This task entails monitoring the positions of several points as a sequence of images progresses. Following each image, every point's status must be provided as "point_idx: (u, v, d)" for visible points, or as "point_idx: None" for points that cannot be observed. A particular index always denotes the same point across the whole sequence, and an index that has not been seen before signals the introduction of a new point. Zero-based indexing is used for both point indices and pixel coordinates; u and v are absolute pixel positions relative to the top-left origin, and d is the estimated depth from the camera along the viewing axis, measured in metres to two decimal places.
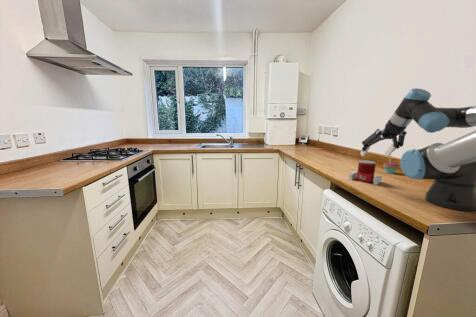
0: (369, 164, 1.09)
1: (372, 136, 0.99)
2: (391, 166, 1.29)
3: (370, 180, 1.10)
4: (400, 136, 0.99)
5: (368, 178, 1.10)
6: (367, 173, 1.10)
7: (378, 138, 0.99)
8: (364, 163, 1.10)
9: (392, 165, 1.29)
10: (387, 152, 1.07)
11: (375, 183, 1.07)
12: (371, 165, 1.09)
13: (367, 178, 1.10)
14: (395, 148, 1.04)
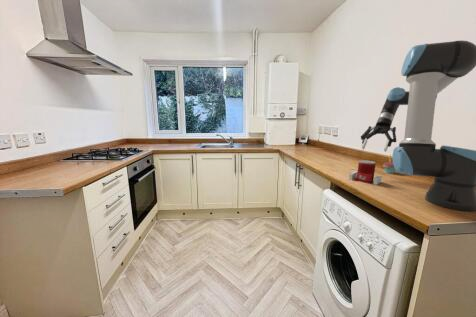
0: (369, 164, 1.09)
1: None
2: (391, 166, 1.29)
3: (370, 180, 1.10)
4: (392, 132, 1.17)
5: (368, 178, 1.10)
6: (367, 173, 1.10)
7: None
8: (364, 163, 1.10)
9: (392, 165, 1.29)
10: None
11: (375, 183, 1.07)
12: (371, 165, 1.09)
13: (367, 178, 1.10)
14: (390, 142, 1.14)
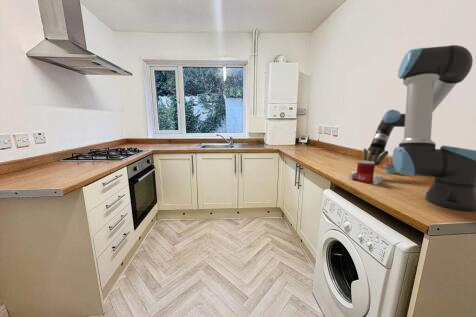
0: (368, 164, 1.08)
1: None
2: (391, 166, 1.29)
3: (369, 180, 1.10)
4: None
5: (367, 178, 1.09)
6: (366, 173, 1.09)
7: None
8: (363, 163, 1.09)
9: (392, 165, 1.29)
10: None
11: (375, 183, 1.07)
12: (370, 165, 1.08)
13: (366, 178, 1.10)
14: None
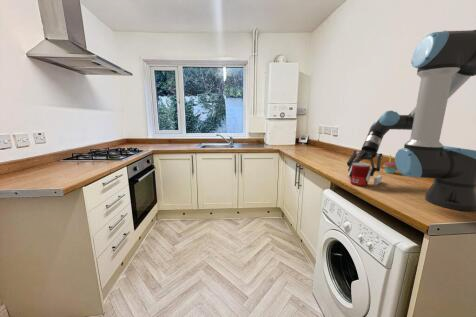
0: (362, 167, 1.02)
1: None
2: (391, 166, 1.29)
3: (364, 184, 1.04)
4: None
5: (361, 181, 1.03)
6: (360, 176, 1.03)
7: None
8: (357, 165, 1.03)
9: (392, 165, 1.29)
10: None
11: (375, 183, 1.07)
12: (365, 168, 1.02)
13: (360, 181, 1.04)
14: (373, 171, 1.02)
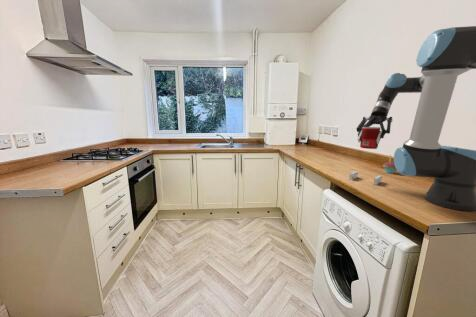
0: (373, 129, 1.03)
1: None
2: (391, 166, 1.29)
3: (374, 146, 1.04)
4: None
5: (371, 144, 1.04)
6: (370, 138, 1.04)
7: None
8: (367, 128, 1.04)
9: (392, 165, 1.29)
10: None
11: (375, 183, 1.07)
12: (375, 130, 1.03)
13: (370, 144, 1.04)
14: (383, 133, 1.03)
